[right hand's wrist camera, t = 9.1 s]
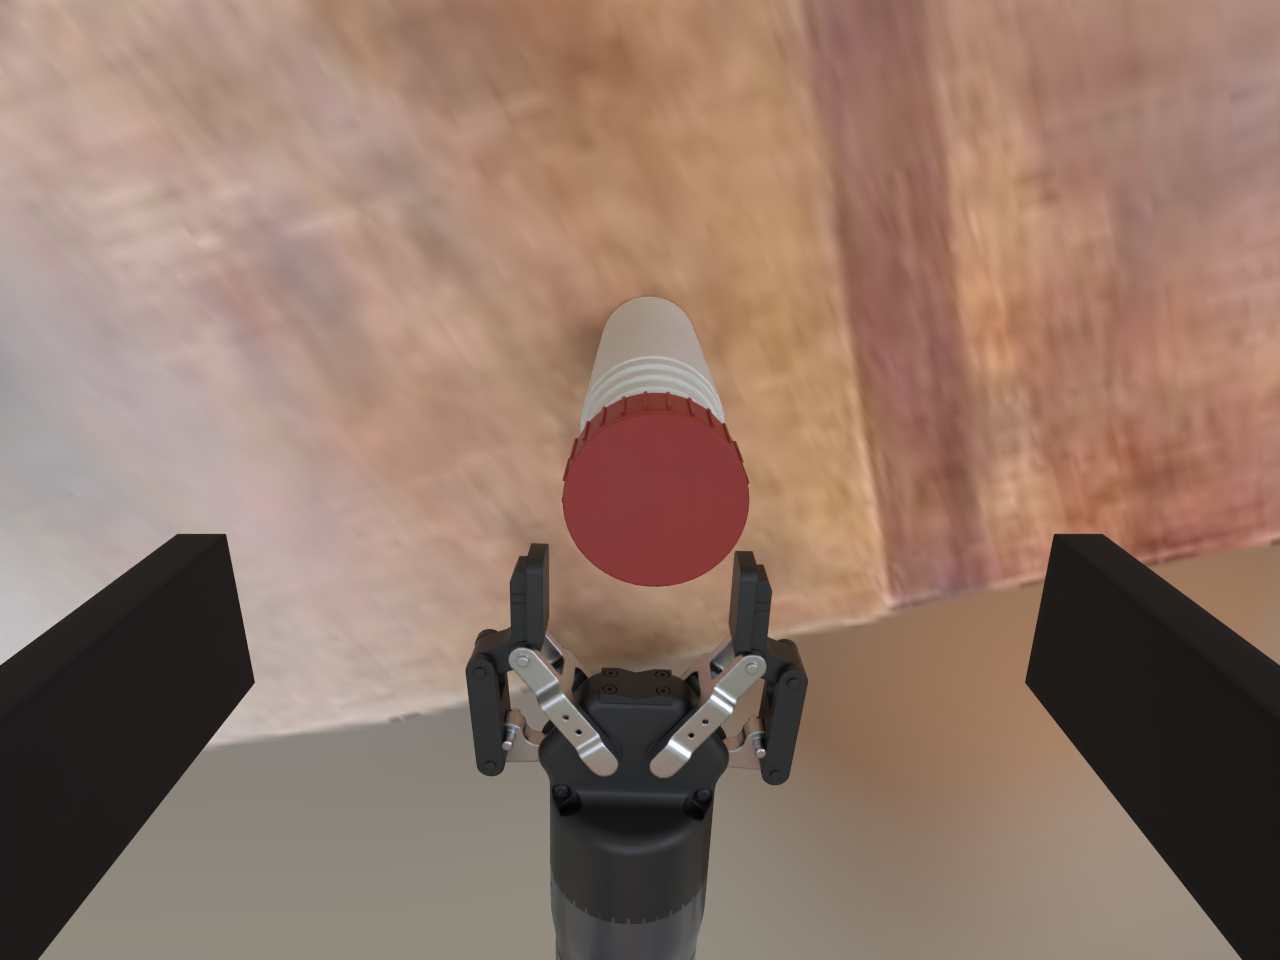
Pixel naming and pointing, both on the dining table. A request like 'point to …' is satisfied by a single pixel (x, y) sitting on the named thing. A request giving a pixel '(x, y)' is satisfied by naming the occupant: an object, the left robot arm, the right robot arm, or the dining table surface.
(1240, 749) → the right robot arm
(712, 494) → the cap
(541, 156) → the dining table surface
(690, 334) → the bottle
